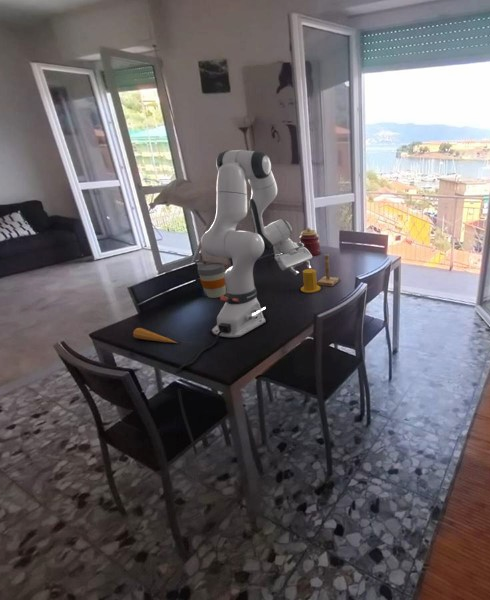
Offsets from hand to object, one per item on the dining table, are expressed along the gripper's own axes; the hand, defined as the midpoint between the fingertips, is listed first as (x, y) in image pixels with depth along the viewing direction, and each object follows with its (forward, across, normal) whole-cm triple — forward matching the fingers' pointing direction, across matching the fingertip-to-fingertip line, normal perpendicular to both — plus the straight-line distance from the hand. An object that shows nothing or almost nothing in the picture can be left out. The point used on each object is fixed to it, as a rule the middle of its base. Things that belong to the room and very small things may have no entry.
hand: (303, 271), depth 183 cm
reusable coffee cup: (-16, -31, +29) cm, 46 cm away
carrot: (-2, -72, +14) cm, 73 cm away
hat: (+9, 0, +4) cm, 10 cm away
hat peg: (+10, +12, +2) cm, 16 cm away
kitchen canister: (-21, +46, +34) cm, 61 cm away
